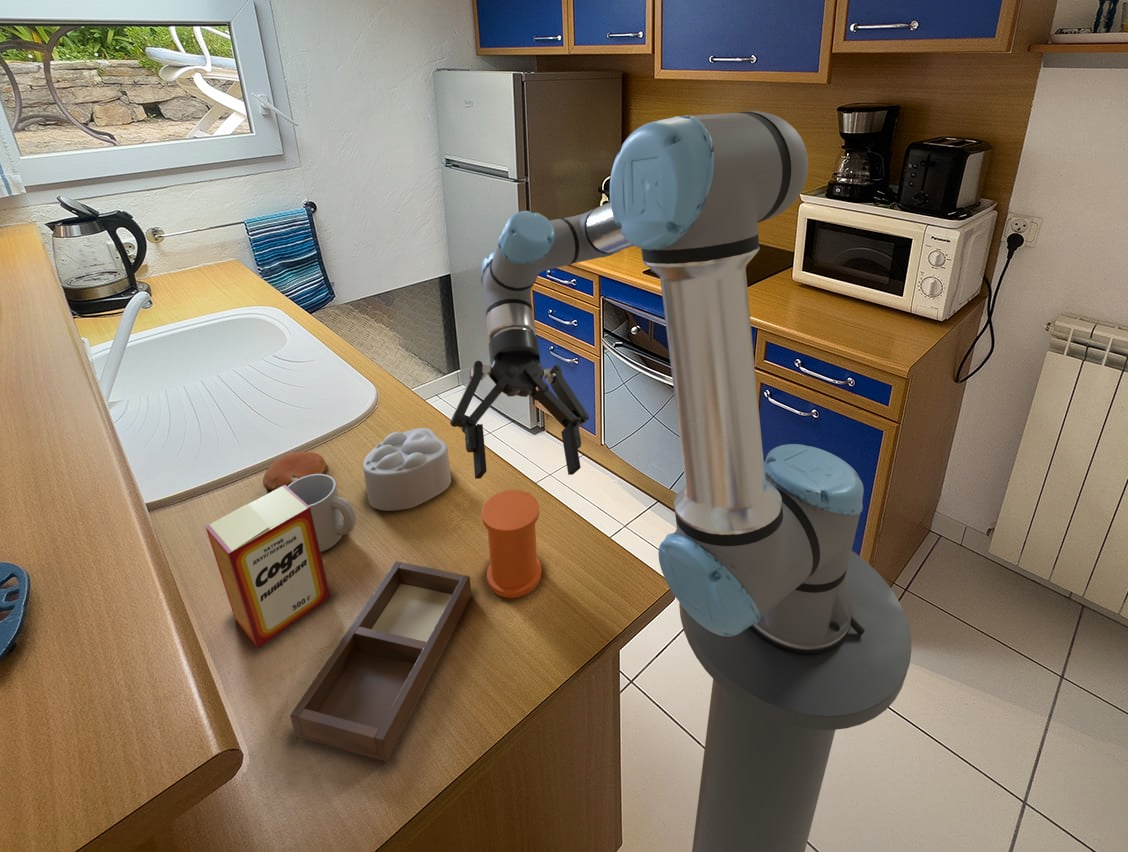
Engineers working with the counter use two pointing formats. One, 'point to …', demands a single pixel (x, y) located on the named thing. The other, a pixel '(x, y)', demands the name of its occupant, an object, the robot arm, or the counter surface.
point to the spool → (512, 543)
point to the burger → (293, 469)
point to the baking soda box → (269, 563)
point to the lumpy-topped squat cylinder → (406, 470)
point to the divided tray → (383, 662)
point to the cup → (325, 508)
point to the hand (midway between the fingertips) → (529, 473)
